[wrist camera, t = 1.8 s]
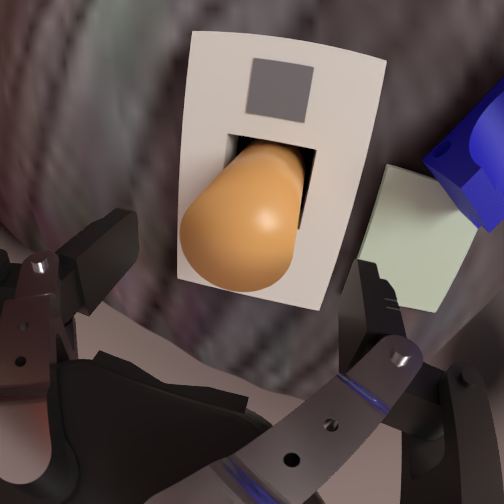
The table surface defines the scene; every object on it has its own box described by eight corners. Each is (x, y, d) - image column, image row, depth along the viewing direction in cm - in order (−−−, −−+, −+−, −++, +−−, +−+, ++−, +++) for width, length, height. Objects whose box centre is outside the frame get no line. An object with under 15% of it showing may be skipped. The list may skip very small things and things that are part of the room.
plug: (244, 130, 19) (181, 179, 10) (311, 143, 18) (305, 203, 10) (236, 191, 21) (179, 278, 13) (298, 204, 21) (281, 302, 12)
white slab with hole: (210, 36, 16) (191, 30, 13) (376, 63, 15) (387, 60, 12) (191, 256, 25) (176, 279, 22) (319, 284, 24) (319, 311, 21)
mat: (386, 163, 18) (388, 166, 18) (485, 197, 17) (489, 200, 17) (345, 289, 23) (345, 294, 23) (433, 307, 23) (435, 312, 22)
